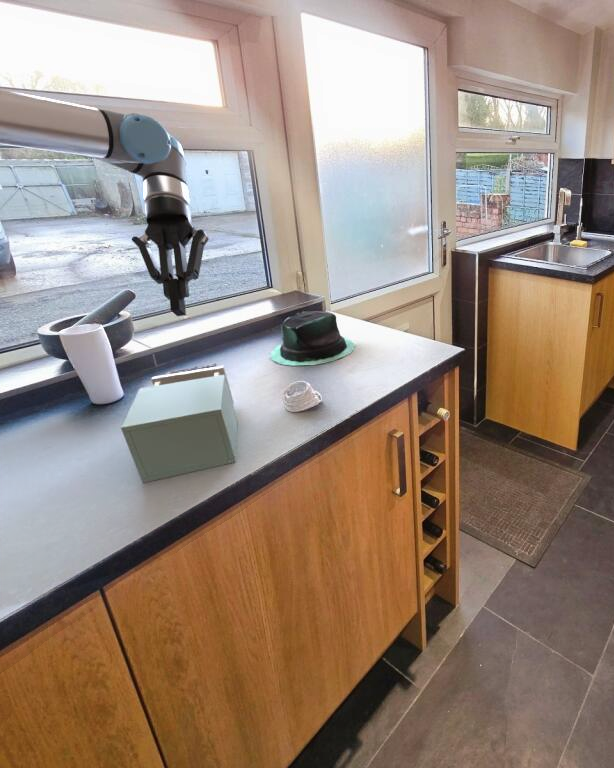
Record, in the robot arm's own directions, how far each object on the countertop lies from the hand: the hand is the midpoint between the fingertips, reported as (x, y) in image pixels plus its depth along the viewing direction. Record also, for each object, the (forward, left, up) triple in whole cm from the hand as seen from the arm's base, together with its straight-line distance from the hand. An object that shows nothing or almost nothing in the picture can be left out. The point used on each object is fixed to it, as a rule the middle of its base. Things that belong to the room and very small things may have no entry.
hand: (178, 312), depth 94 cm
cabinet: (+21, -9, -18) cm, 29 cm away
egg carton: (-6, 0, -18) cm, 19 cm away
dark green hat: (-6, +28, -18) cm, 34 cm away
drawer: (+12, -5, -17) cm, 21 cm away
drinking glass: (-13, -13, -18) cm, 26 cm away
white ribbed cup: (+20, +11, -18) cm, 29 cm away
